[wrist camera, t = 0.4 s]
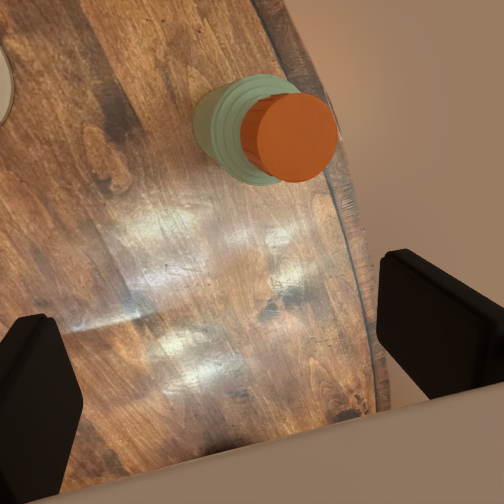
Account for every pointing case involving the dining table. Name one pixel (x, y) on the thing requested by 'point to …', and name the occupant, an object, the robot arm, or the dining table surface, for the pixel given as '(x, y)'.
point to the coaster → (5, 87)
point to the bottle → (234, 123)
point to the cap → (289, 136)
